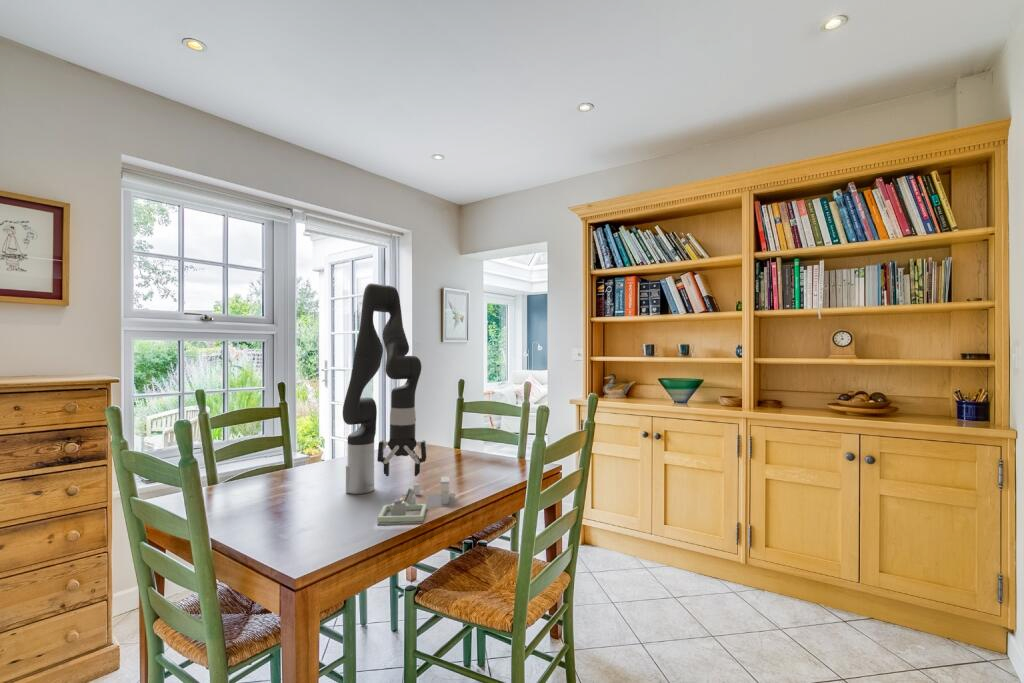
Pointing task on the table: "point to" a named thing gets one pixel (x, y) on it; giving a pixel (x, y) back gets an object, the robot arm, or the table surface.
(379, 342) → the robot arm
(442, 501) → the fuse panel
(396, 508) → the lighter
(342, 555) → the table surface
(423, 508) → the tray
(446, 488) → the block
